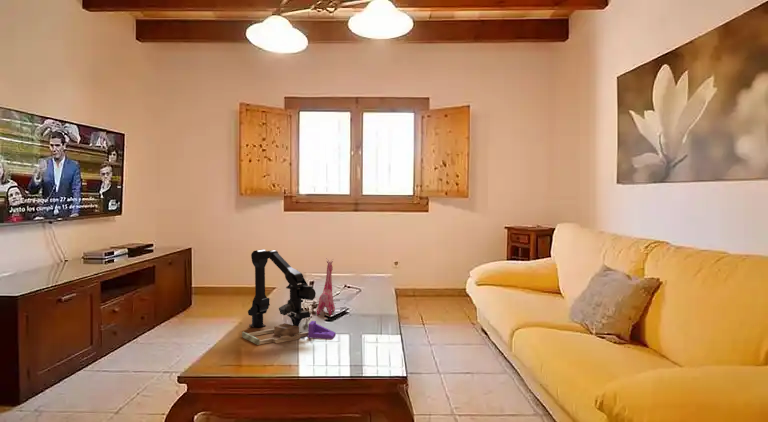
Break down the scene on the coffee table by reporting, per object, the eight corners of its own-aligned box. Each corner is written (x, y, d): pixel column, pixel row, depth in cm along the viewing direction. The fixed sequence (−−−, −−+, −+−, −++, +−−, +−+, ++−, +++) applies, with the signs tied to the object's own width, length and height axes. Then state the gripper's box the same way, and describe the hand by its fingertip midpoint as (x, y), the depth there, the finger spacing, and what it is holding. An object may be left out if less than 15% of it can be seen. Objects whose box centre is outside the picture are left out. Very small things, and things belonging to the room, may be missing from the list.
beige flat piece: (241, 337, 280) (241, 331, 280) (292, 328, 297) (292, 323, 297) (260, 346, 265) (260, 340, 265) (311, 336, 282) (311, 331, 282)
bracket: (308, 338, 280) (308, 324, 280) (311, 334, 287) (311, 320, 287) (332, 339, 279) (332, 325, 278) (335, 335, 286) (335, 322, 285)
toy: (337, 307, 347) (338, 257, 346) (329, 317, 322) (329, 263, 320) (323, 307, 348) (324, 257, 346) (314, 317, 322) (314, 263, 321)
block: (274, 335, 285) (274, 326, 285) (284, 332, 291) (284, 323, 291) (288, 338, 280) (288, 329, 279) (299, 335, 285) (299, 326, 285)
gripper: (271, 296, 290) (272, 327, 291) (290, 303, 276) (290, 335, 276) (291, 294, 297) (291, 324, 298) (310, 300, 283) (310, 332, 283)
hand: (295, 329), depth 289 cm, fingers closed
